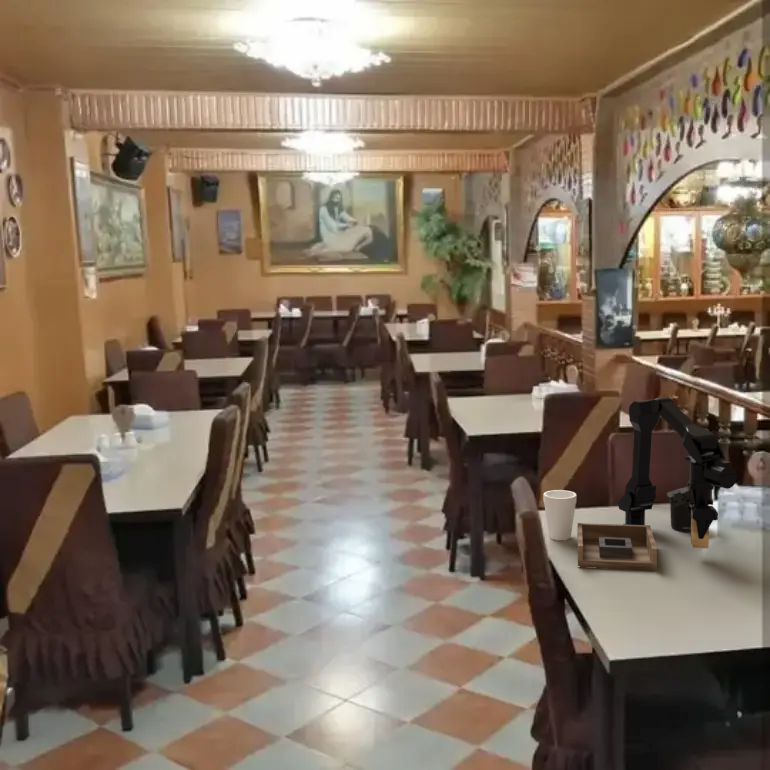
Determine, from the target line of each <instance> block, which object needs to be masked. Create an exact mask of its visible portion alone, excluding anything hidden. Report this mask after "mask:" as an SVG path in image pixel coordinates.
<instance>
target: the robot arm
mask: <svg viewBox="0 0 770 770" xmlns="http://www.w3.org/2000/svg"><path fill="white" fill-rule="evenodd" d="M628 415H629V419H628V420H629V422H630V424H631V427H632V428H633V430H634V431H633V432H634V433H633V450H632V452H633V453H632V454H633V455H632V467H631V468H632V469H631V472H632V473H631V478H629V480H628V482H627V483H626V485H625V489H624V494H623V496H621V498H620V499H619V500H618V501H617V505H618V510H620V511H622V512H624V513H625V516H624V521H625V522H624V523H623V524H622V525H646V511H647V510H652V508H653V506H654V503H655V499H657V496H656V495H657V494H656V493H657V486H656V485H655V484H653V482H652V479H650V473H651V472H650V471H651V458H652V456H651V455H652V443H653V442H652V439H653V430H654V429H655V428H656V426H657V425H658V423H659V419H660V417H661V418H662V419H663V420H664V421H665V422H666V423H667V424H668V425H669V426H670V427H671V428H672V429H673V430H674V431H675V432H676V433H677V434H678V435H679V436H680V438H681V440H682V446H684V447H683V448H685V450H686V451H687V453H688V455H686V456H685V457H684V460H685V461H686V462H689V480H688V481H687V483H686V486H685V487H681V488H677V489H674V490H671V491H668V492H666V495H667V498H668V501H669V504H671V506H672V507H677V506H678V505H682V504H685V503H688V502H689V505H686V507H687V509H688V510H689V511H690V512H691V514H690V515H691V517H692V519H694V520H695V521H696V526H697V532H698V537H699V539H703V538H704V536H705V534H706V532H707V530H708V528H709V529H710V527H711V524H712V523H713V522H714V521H718V519H719V512H718V511H717V509H716V508H715V507H714V506H713V505H714V500H713V490H714V486H717V487H720V488H722V489H727V490H728V489H731V488H733V487H734V486H735V484H736V483H737V480H738V474H737V471H736V469H735V468H734V467H732V462H730V461H725V460H726V457H725V455H724V451H723V450H722V447H721V445H720V443H719V441H718V438H717V436H716V435H715V434H714V433H713V432H711V431H709V430H708V429H706V428H704V427H701V426H699V425H696V423H694V422H693V421H692V420H691V419H690V418H689V417H688V416H687V415H686V414H684V412H683V411H682V410H681V409H680V408H679V407H678V406H677V405H676V404H675V403H674V400H672V398H670V397H658V398H654V399H645V400H644V399H643V400H635V401H633V402H631V404H629V407H628Z"/></svg>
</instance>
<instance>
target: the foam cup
mask: <svg viewBox="0 0 770 770" xmlns="http://www.w3.org/2000/svg"><path fill="white" fill-rule="evenodd" d="M542 496H543V500H542V501H543V504H544V510H545V517H546V525H547V533H548V538H549V539H550V540H553V539H554V540H553V541H558V540H564V541H568V540H567V539H569V538H570V539H571V538H572V533H573V532H572V531H573V525H574V520H575V519H574V517H575V510H576V504H577V493H576V492H574V491H570V490H564V489H553V490H547V491H545V492H544V493H543V495H542ZM570 539H569V540H570Z"/></svg>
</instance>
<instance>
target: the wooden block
mask: <svg viewBox="0 0 770 770" xmlns="http://www.w3.org/2000/svg"><path fill="white" fill-rule="evenodd" d="M709 538H710V527H709V528H708V530H707V532H706V534H705V536H704V538H703V539H699V537H698V532H697V526H696V521H695V520H694V519H692V517H691V532H690V545H691V547H692V548H693V549H697V548H699V549H709V546H710V545H709V540H710V539H709Z"/></svg>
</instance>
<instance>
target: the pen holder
mask: <svg viewBox="0 0 770 770" xmlns="http://www.w3.org/2000/svg"><path fill="white" fill-rule="evenodd" d="M669 504H670V503H669ZM686 505H689V502H688V503H685V504H682V505H678V506H677V507H672V506H671V504H670V505H669V507H670V510H669V511H670V527H671V528H672V530H674V529H675V530H674V531H677V530H678V532H681V531H682V532H683V533H691V515H690V514H691V512H690V511H689V510H688V509H687V507H686Z"/></svg>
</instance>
